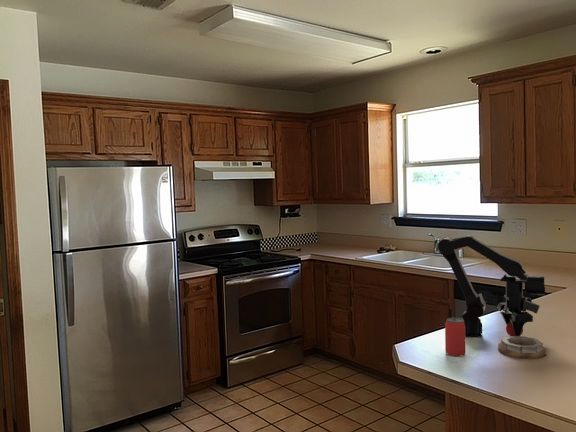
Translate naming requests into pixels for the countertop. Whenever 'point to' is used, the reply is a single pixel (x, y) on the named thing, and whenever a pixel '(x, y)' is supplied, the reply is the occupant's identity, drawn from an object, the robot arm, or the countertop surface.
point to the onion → (511, 330)
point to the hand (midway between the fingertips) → (514, 334)
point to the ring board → (522, 355)
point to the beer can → (455, 337)
